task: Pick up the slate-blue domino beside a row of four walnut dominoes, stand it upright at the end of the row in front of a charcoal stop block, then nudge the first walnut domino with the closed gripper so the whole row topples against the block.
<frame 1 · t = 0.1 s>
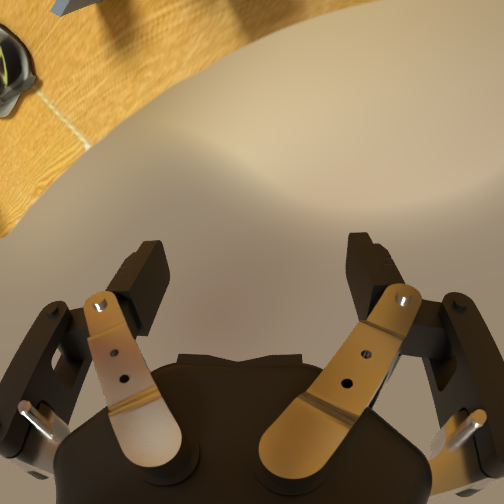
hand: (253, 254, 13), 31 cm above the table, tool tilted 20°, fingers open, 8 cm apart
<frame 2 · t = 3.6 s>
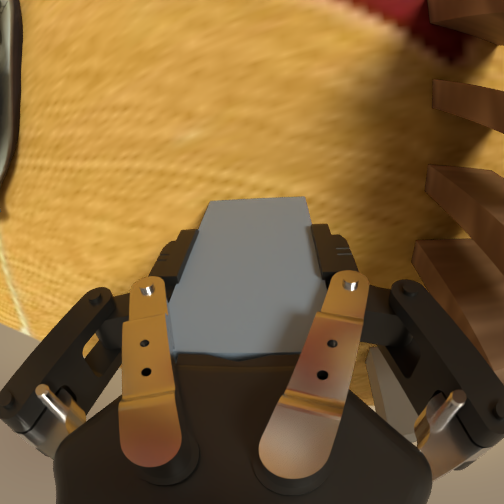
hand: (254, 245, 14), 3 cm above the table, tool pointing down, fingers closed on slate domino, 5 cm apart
walnut domino 3: (460, 180, 14), on the table
walnut domino 4: (445, 249, 17), on the table
walnut domino 2: (468, 100, 12), on the table
slate domino: (258, 212, 16), on the table, touching gripper
stop block: (411, 349, 22), on the table
walnut domino 1: (465, 21, 9), on the table
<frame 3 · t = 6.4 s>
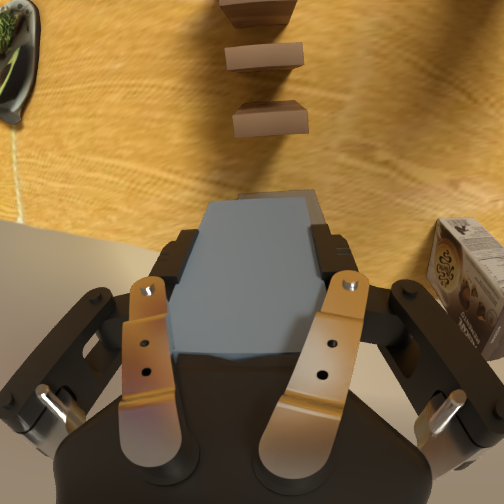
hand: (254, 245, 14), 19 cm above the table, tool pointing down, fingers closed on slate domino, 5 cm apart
walnut domino 3: (265, 63, 25), on the table
salad plate: (4, 62, 23), on the table
walnut domino 4: (269, 109, 28), on the table
walnut domino 2: (260, 18, 23), on the table
coffee box: (449, 246, 35), on the table
slate domino: (257, 212, 17), point 16 cm above the table, touching gripper
stop block: (276, 200, 33), on the table
when the fingers open (4 cm above the table, at t = 9.2 s): slate domino stays where it is, on the table.
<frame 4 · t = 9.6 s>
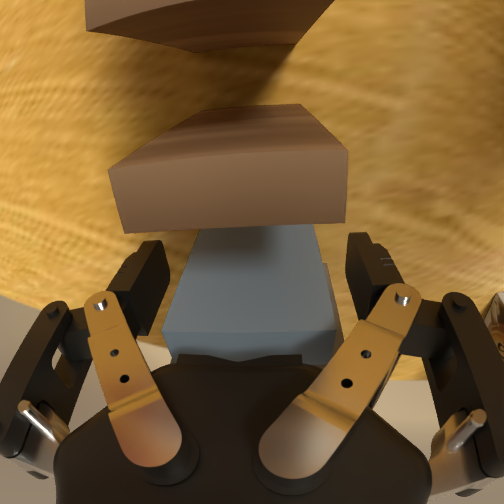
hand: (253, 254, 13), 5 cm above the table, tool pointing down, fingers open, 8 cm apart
walnut domino 3: (243, 32, 12), on the table
walnut domino 4: (251, 121, 15), on the table
coffee box: (499, 322, 22), on the table
slate domino: (259, 207, 17), on the table
stop block: (263, 278, 20), on the table
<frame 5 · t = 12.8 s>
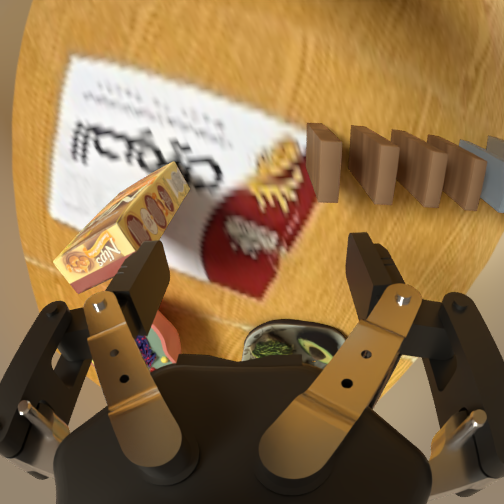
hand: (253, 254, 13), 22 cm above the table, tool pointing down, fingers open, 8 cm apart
walnut domino 3: (396, 151, 31), on the table
salad plate: (295, 350, 49), on the table
walnut domino 4: (431, 155, 30), on the table
walnut domino 2: (356, 147, 31), on the table
candy box: (154, 190, 35), on the table
slate domino: (461, 159, 30), on the table
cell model: (140, 316, 47), on the table
stop block: (488, 165, 30), on the table
walnut domino 1: (313, 145, 31), on the table
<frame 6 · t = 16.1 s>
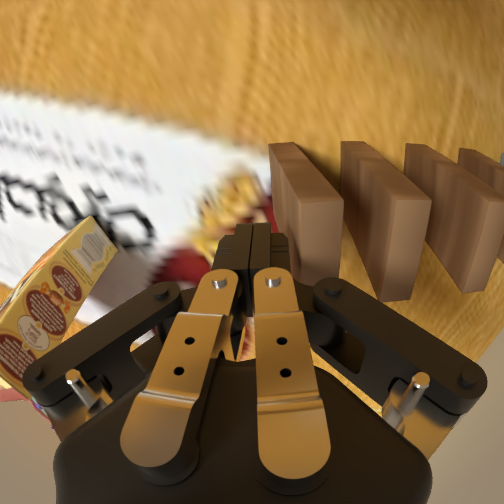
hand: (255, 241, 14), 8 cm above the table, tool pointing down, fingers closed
walnut domino 3: (412, 176, 20), on the table
walnut domino 4: (463, 179, 19), on the table
walnut domino 2: (351, 176, 20), on the table
candy box: (78, 251, 25), on the table
walnut domino 1: (282, 178, 20), on the table, tilted 7°, touching gripper
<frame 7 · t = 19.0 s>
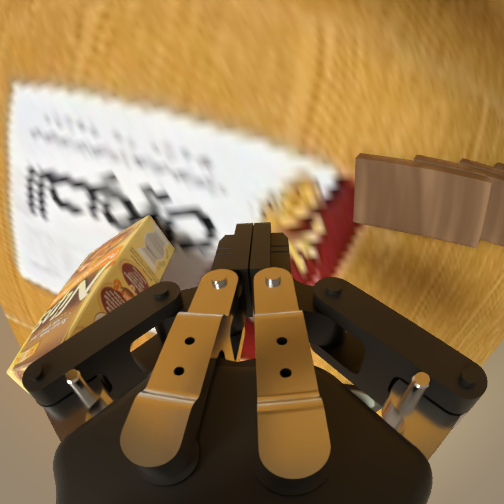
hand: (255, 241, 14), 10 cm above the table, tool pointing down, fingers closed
salad plate: (315, 408, 40), on the table
walnut domino 2: (412, 187, 21), point 1 cm above the table, tilted 57°, touching walnut domino 1, walnut domino 3
candy box: (130, 250, 27), on the table
walnut domino 1: (357, 187, 22), point 1 cm above the table, tilted 63°, touching walnut domino 2
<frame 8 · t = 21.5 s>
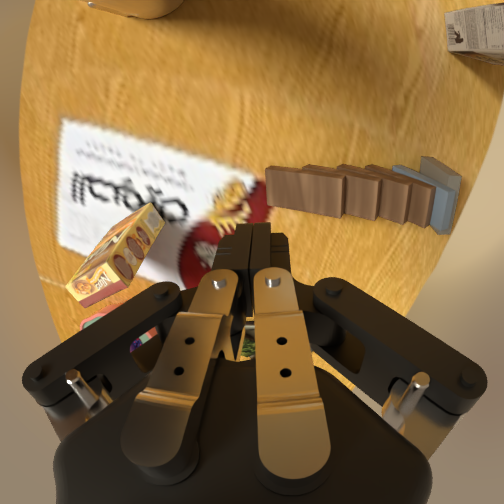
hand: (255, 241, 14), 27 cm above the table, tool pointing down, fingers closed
walnut domino 3: (339, 182, 39), point 1 cm above the table, tilted 46°, touching walnut domino 2, walnut domino 4
salad plate: (266, 346, 59), on the table
walnut domino 4: (367, 182, 39), on the table, tilted 36°, touching slate domino, walnut domino 3
walnut domino 2: (305, 183, 39), point 1 cm above the table, tilted 55°, touching walnut domino 1, walnut domino 3
candy box: (138, 224, 45), on the table
coffee box: (469, 38, 26), on the table
slate domino: (395, 182, 39), on the table, tilted 22°, touching stop block, walnut domino 4
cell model: (136, 321, 57), on the table
stop block: (424, 183, 38), on the table
walnut domino 1: (269, 185, 40), point 1 cm above the table, tilted 62°, touching walnut domino 2
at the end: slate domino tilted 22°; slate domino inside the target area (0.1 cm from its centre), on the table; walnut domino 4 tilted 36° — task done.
